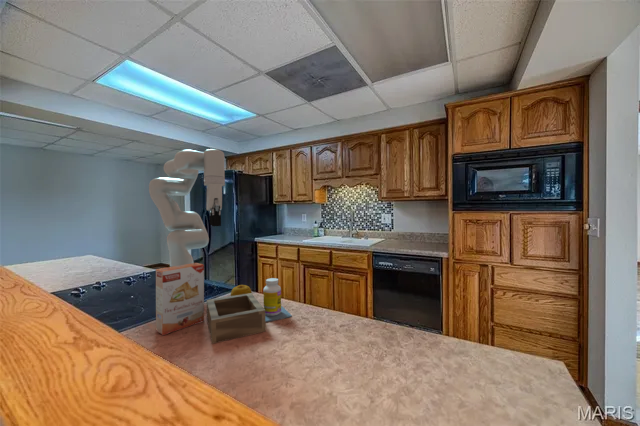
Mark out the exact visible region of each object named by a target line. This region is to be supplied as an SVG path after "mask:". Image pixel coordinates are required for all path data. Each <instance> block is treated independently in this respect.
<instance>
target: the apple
mask: <svg viewBox="0 0 640 426" xmlns="http://www.w3.org/2000/svg"><path fill="white" fill-rule="evenodd" d="M248 293H252V294H253V292H252V289H251V288H250V286H248V285H246V284H239V285H236V286H234V287H233V288H232V289H231V291H230V296H235V295H242V294H248Z"/></svg>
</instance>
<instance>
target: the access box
mask: <svg viewBox="0 0 640 426" xmlns="http://www.w3.org/2000/svg"><path fill="white" fill-rule="evenodd" d="M206 321H207V326H208V330H209V335H210V341H211V344H216V343H220V342H225V341H228V340H233V339H238V338H242V337H247V336H251V335H255V334H259V333H263V332H266V327H267V326H266V323H267V322H266V320H265V309H264V306H263V305H262V304H261V303H260V301H259V300H258V299H257V298H256V297H255V295H254V294H253V292H252V293H248V294H242V295H235V296H231V295H230V296H225V297H224V296H223V297H216V298H210V299H206Z"/></svg>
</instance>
